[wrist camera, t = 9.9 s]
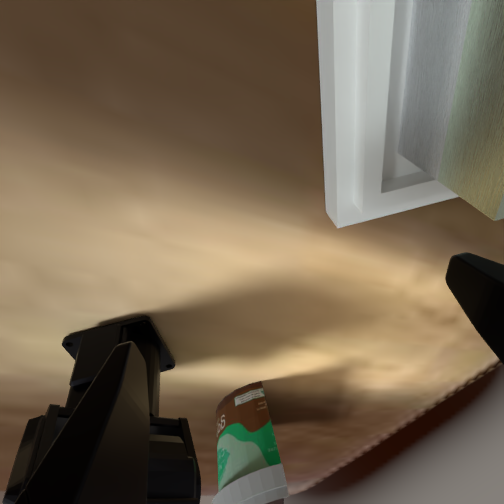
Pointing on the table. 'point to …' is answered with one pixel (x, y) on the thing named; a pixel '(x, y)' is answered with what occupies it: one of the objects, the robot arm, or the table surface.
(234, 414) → the food container
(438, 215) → the table surface
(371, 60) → the white rectangular tray
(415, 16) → the block
